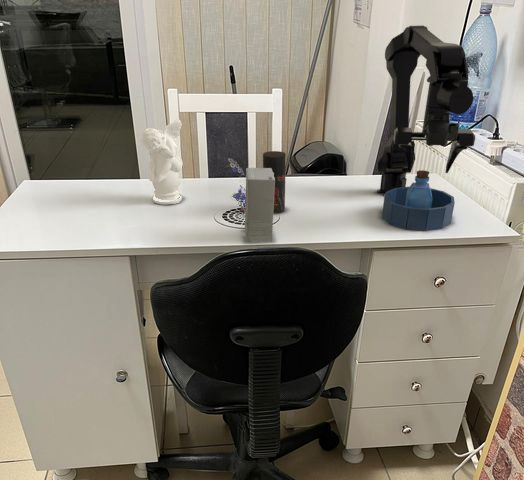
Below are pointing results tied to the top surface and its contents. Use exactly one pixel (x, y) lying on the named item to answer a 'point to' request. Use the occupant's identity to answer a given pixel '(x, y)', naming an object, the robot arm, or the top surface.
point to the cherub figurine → (164, 161)
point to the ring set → (239, 189)
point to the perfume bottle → (419, 192)
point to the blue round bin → (417, 211)
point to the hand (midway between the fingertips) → (427, 172)
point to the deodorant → (277, 177)
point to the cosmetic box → (259, 204)
